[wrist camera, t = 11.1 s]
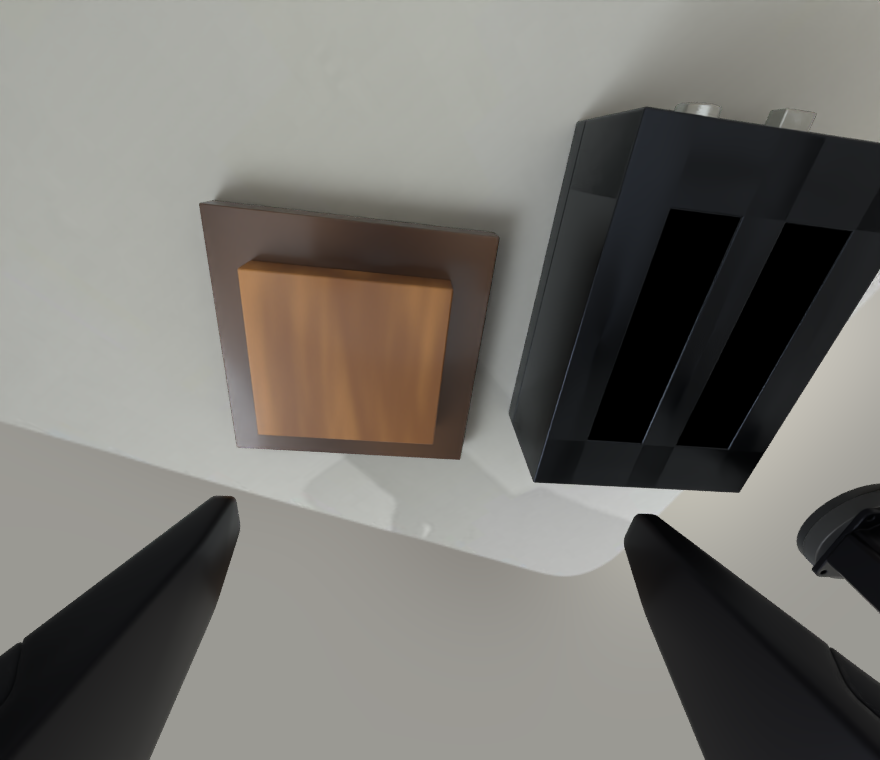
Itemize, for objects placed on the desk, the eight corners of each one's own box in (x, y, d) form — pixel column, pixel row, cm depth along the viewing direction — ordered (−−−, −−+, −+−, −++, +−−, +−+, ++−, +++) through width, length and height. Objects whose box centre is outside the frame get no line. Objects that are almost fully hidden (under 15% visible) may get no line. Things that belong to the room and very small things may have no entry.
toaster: (815, 126, 17) (978, 114, 12) (673, 425, 24) (739, 493, 19) (584, 90, 16) (658, 61, 11) (508, 414, 23) (533, 482, 18)
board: (495, 232, 18) (499, 237, 17) (458, 446, 24) (460, 460, 23) (211, 200, 17) (198, 202, 16) (244, 434, 22) (236, 447, 21)
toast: (453, 288, 16) (236, 267, 16) (433, 445, 20) (257, 435, 19) (451, 279, 18) (249, 259, 17) (432, 428, 21) (266, 418, 21)
